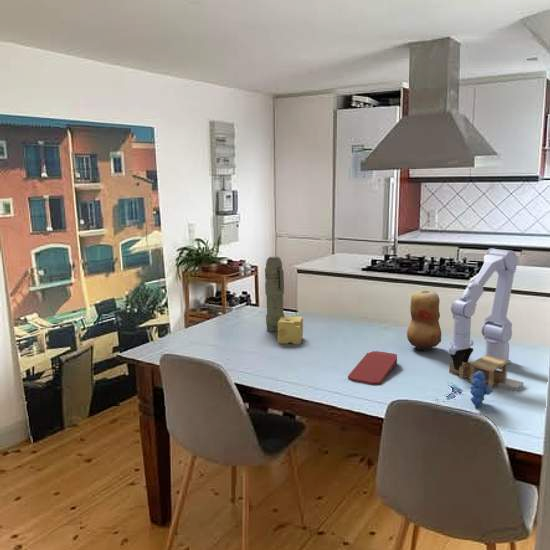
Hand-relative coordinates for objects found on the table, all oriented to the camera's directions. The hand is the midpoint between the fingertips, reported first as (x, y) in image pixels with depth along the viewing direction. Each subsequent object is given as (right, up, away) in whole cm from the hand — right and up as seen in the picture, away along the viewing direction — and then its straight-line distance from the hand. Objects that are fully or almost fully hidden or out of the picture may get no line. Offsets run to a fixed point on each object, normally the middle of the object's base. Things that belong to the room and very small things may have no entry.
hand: (460, 368), depth 196 cm
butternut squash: (-6, +3, +28) cm, 29 cm away
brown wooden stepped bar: (+4, -3, -4) cm, 6 cm away
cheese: (-61, +5, +45) cm, 76 cm away
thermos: (-68, +8, +63) cm, 93 cm away
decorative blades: (-9, -6, -17) cm, 21 cm away
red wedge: (-30, -3, +5) cm, 31 cm away
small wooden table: (+7, -3, -7) cm, 11 cm away
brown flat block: (+13, -5, -13) cm, 19 cm away
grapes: (-3, -8, -28) cm, 29 cm away
